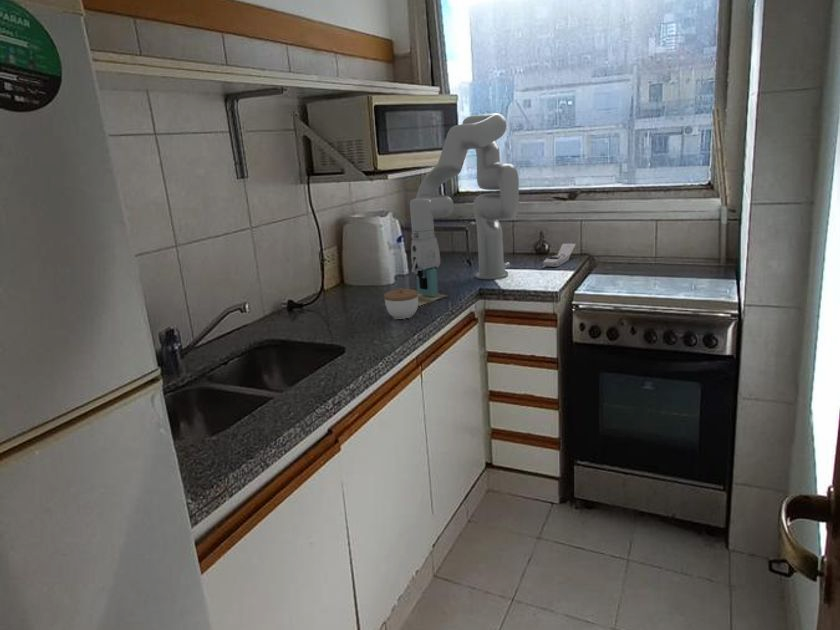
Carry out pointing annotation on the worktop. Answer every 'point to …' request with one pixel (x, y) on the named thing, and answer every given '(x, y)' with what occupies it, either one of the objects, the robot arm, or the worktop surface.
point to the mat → (428, 298)
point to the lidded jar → (401, 303)
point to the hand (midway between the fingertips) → (427, 287)
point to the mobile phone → (560, 256)
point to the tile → (429, 283)
